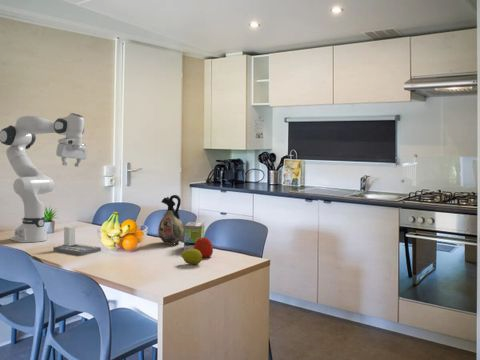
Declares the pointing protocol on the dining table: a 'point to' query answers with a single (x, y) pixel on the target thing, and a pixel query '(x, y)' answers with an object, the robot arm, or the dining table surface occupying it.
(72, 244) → the fader knob
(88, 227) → the dining table surface
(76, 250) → the console
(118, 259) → the dining table surface
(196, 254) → the lemon
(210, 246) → the apple
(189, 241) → the tea box
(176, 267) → the dining table surface
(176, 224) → the ceramic jug
